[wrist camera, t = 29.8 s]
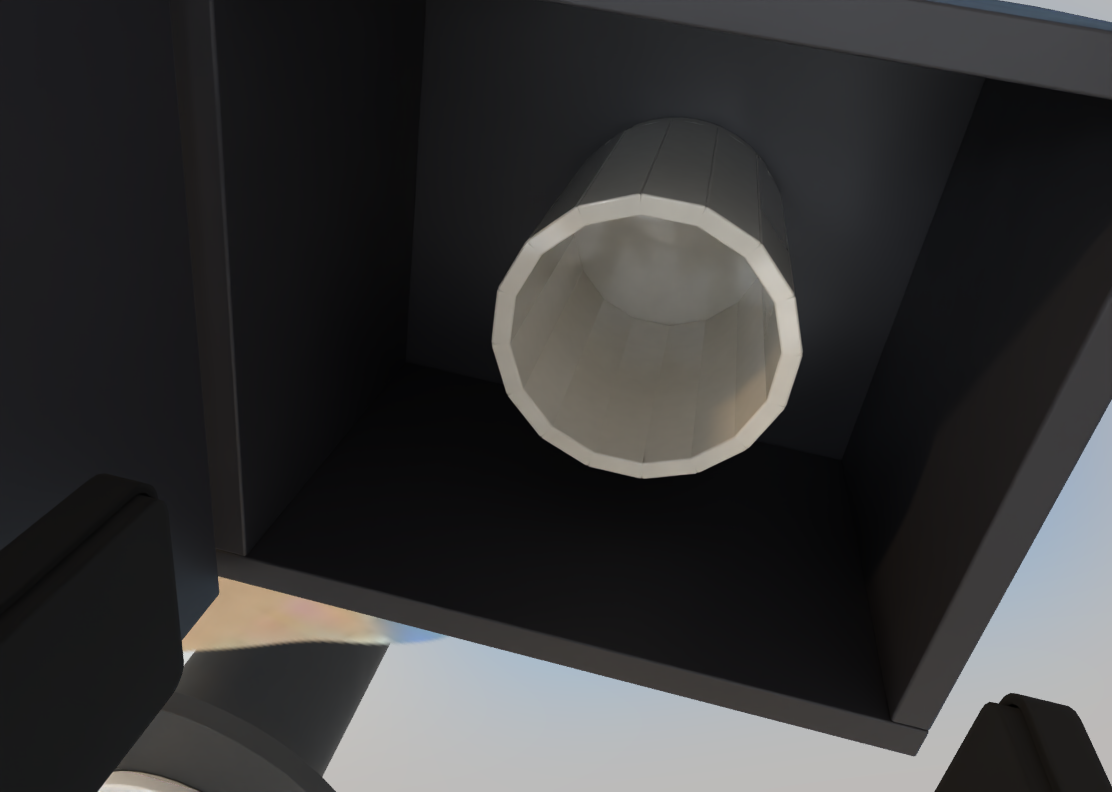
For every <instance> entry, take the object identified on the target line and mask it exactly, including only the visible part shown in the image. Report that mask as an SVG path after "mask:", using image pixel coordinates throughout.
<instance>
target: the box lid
mask: <svg viewBox="0 0 1112 792" xmlns="http://www.w3.org/2000/svg"><path fill="white" fill-rule="evenodd" d="M103 473H106V474H110V475H114V476H118V477H122V478H127V479H131V480H135V481H139V482H143V483H147V484H150V485H152V486H153V487H154V488H155V490H156V491H157V495H158V499H160V500H162V501H164V502H165V503H166V504H167V507H168V512H169V522H170V531H171V541H172V551H173V561H174V571H175V581H176V591H177V600H178V610H179V620H180V630H181V640H182V639H183V638H184V637H185V636H186V635H187V633H188V632H189V631H190V630H191V628H192V627H193V626H194V625H195V623H196V622H197V621H198V620H199V618H200V617H201V616H202V615H203V613H204V612H205V611H206V610H207V608H208V607H209V606H210V605H211V603H212V602H213V601H214V600H215V598H216V597H217V596H218V595H219V584H218V572H217V560H216V548H215V536H214V525H213V513H212V501H211V489H210V477H209V465H208V453H207V441H206V429H205V418H204V406H203V394H202V382H201V370H200V358H199V346H198V334H197V322H196V310H195V299H194V287H193V275H192V263H191V251H190V239H189V227H188V215H187V203H186V192H185V180H184V168H183V156H182V144H181V132H180V120H179V108H178V96H177V84H176V73H175V61H174V49H173V37H172V25H171V13H170V1H169V0H0V550H1V549H3V548H4V547H5V546H6V545H8V544H9V543H10V542H11V541H13V540H14V539H15V538H16V537H18V536H19V535H20V534H21V533H23V532H24V531H25V530H26V529H28V528H29V527H30V526H31V525H33V524H34V523H35V522H36V521H38V520H39V519H40V518H41V517H43V516H44V515H45V514H46V513H48V512H49V511H50V510H51V509H53V508H54V507H55V506H56V505H58V504H59V503H60V502H61V501H63V500H64V499H65V498H66V497H68V496H69V495H70V494H71V493H73V492H74V491H75V490H76V489H78V488H79V487H80V486H81V485H83V484H84V483H85V482H86V481H88V480H89V479H90V478H92V477H94V476H95V475H97V474H103Z"/></svg>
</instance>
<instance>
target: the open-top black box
mask: <svg viewBox="0 0 1112 792" xmlns="http://www.w3.org/2000/svg"><path fill="white" fill-rule="evenodd" d="M169 1H170V13H171V25H172V37H173V49H174V61H175V73H176V84H177V96H178V108H179V120H180V132H181V144H182V156H183V168H184V180H185V192H186V203H187V215H188V227H189V239H190V251H191V263H192V275H193V287H194V299H195V310H196V322H197V334H198V346H199V358H200V370H201V382H202V394H203V406H204V418H205V429H206V441H207V453H208V465H209V477H210V489H211V501H212V513H213V525H214V536H215V548H216V560H217V572H218V576H220V577H223V578H227V579H231V580H235V581H239V582H243V583H247V584H250V585H254V586H258V587H262V588H266V589H270V590H274V591H277V592H281V593H285V594H289V595H293V596H297V597H301V598H305V599H308V600H312V601H316V602H320V603H324V604H328V605H332V606H335V607H339V608H343V609H347V610H351V611H355V612H359V613H362V614H366V615H370V616H374V617H378V618H382V619H386V620H389V621H393V622H397V623H401V624H405V625H409V626H413V627H416V628H420V629H424V630H428V631H432V632H436V633H440V634H443V635H447V636H451V637H455V638H459V639H463V640H467V641H471V642H474V643H478V644H482V645H486V646H490V647H494V648H498V649H501V650H505V651H509V652H513V653H517V654H521V655H525V656H529V657H532V658H536V659H540V660H544V661H548V662H552V663H556V664H559V665H563V666H567V667H571V668H575V669H579V670H582V671H586V672H590V673H594V674H598V675H602V676H606V677H610V678H613V679H617V680H621V681H625V682H629V683H633V684H637V685H640V686H644V687H648V688H652V689H656V690H660V691H664V692H668V693H671V694H675V695H679V696H683V697H687V698H691V699H695V700H698V701H703V702H706V703H710V704H714V705H718V706H722V707H726V708H729V709H733V710H737V711H741V712H745V713H748V714H752V715H757V716H760V717H764V718H768V719H772V720H776V721H779V722H783V723H787V724H791V725H795V726H799V727H803V728H807V729H811V730H814V731H818V732H822V733H826V734H830V735H833V736H837V737H841V738H845V739H849V740H853V741H857V742H860V743H865V744H868V745H872V746H876V747H880V748H884V749H888V750H891V751H895V752H899V753H903V754H907V755H911V756H916V754H917V753H918V751H919V749H920V747H921V745H922V743H923V742H924V740H925V738H926V736H927V734H928V730H929V729H930V728H931V726H932V724H933V723H934V721H935V719H936V717H937V715H938V713H939V712H940V710H941V708H942V706H943V704H944V703H945V701H946V699H947V697H948V695H949V693H950V692H951V690H952V688H953V686H954V684H955V683H956V681H957V679H958V677H959V675H960V674H961V672H962V670H963V668H964V666H965V664H966V663H967V661H968V659H969V657H970V655H971V654H972V652H973V650H974V648H975V646H976V645H977V643H978V641H979V639H980V637H981V636H982V633H983V632H984V630H985V628H986V626H987V624H988V623H989V621H990V619H991V617H992V616H993V614H994V612H995V610H996V608H997V606H998V605H999V603H1000V601H1001V599H1002V597H1003V595H1004V593H1005V592H1006V590H1007V588H1008V587H1009V585H1010V583H1011V581H1012V579H1013V577H1014V576H1015V574H1016V572H1017V570H1018V568H1019V567H1020V565H1021V563H1022V561H1023V559H1024V558H1025V556H1026V554H1027V552H1028V550H1029V548H1030V546H1031V545H1032V543H1033V541H1034V539H1035V538H1036V536H1037V534H1038V532H1039V530H1040V528H1041V527H1042V525H1043V523H1044V521H1045V519H1046V518H1047V516H1048V514H1049V512H1050V510H1051V509H1052V507H1053V505H1054V503H1055V501H1056V499H1057V498H1058V496H1059V494H1060V492H1061V490H1062V489H1063V487H1064V485H1065V483H1066V481H1067V480H1068V478H1069V476H1070V474H1071V472H1072V470H1073V469H1074V467H1075V465H1076V463H1077V461H1078V460H1079V458H1080V456H1081V454H1082V452H1083V450H1084V448H1085V447H1086V445H1087V443H1088V441H1089V440H1090V438H1091V436H1092V434H1093V432H1094V430H1095V429H1096V427H1097V425H1098V423H1099V422H1100V420H1101V418H1102V416H1103V414H1104V412H1105V411H1106V408H1107V407H1108V405H1109V403H1110V402H1111V400H1112V22H1107V21H1103V20H1098V19H1093V18H1088V17H1084V16H1079V15H1074V14H1069V13H1065V12H1060V11H1055V10H1050V9H1045V8H1040V7H1035V6H1030V5H1024V4H1017V3H1011V2H1005V1H999V0H169ZM679 117H681V118H690V119H697V120H701V121H705V122H709V123H712V124H715V125H717V126H720V127H722V128H724V129H726V130H728V131H730V132H731V133H733V134H735V135H737V136H738V137H739V138H741V139H742V140H743V141H745V142H746V143H747V144H748V145H750V146H751V147H752V148H753V149H754V151H755V152H756V153H757V154H758V155H759V156H760V157H761V158H762V160H763V161H764V162H765V164H766V165H767V167H768V168H769V170H770V172H771V174H772V176H773V177H774V179H775V181H776V184H777V187H778V188H779V190H780V193H781V195H782V203H783V210H784V217H785V224H786V231H787V238H788V245H789V252H790V259H791V266H792V273H793V280H794V287H795V294H796V302H797V309H798V317H799V325H800V332H801V340H802V347H803V353H802V355H803V356H802V359H801V363H800V366H799V369H798V372H797V375H796V378H795V381H794V384H793V387H792V390H791V393H790V396H789V399H788V402H787V405H786V407H785V409H784V410H783V411H782V412H781V413H780V415H779V416H778V417H777V418H776V419H775V420H774V421H773V422H772V423H771V424H770V426H769V427H768V428H767V429H766V430H765V431H764V432H763V433H762V434H761V435H760V437H759V438H758V439H757V440H756V441H755V442H754V443H753V444H752V445H751V446H750V447H749V448H747V450H745V451H743V452H741V453H739V454H737V455H735V456H733V457H731V458H729V459H726V460H724V461H722V462H720V463H718V464H716V465H714V466H712V467H710V468H708V469H706V470H704V471H702V472H699V473H698V472H697V473H696V474H687V475H677V476H667V477H657V478H647V479H643V478H636V477H631V476H627V475H623V474H618V473H614V472H610V471H605V470H601V469H597V468H593V467H589V466H588V465H585V464H583V463H581V462H580V461H578V460H576V459H575V458H573V457H572V456H570V455H568V454H567V453H565V452H564V451H562V450H560V449H559V448H557V447H556V446H554V445H552V444H551V443H549V442H547V441H546V440H544V439H543V438H542V437H541V436H539V435H538V433H537V432H536V431H535V430H534V428H533V427H532V426H531V425H530V423H529V422H528V421H527V419H526V418H525V417H524V416H523V414H522V413H521V412H520V411H519V409H518V408H517V407H516V406H515V404H514V403H513V402H512V401H511V399H510V398H509V397H508V394H507V393H506V390H505V387H504V384H503V381H502V377H501V374H500V371H499V367H498V364H497V361H496V358H495V354H494V351H493V348H492V342H491V338H492V329H493V321H494V312H495V303H496V294H497V290H498V286H499V285H500V283H501V281H502V280H503V278H504V276H505V275H506V273H507V271H508V270H509V268H510V266H511V265H512V263H513V261H514V260H515V258H516V256H517V255H518V253H519V251H520V250H521V248H522V246H523V245H524V243H525V242H526V240H527V239H528V238H529V236H530V235H531V234H532V232H533V231H534V230H535V228H536V227H537V226H538V224H539V223H540V221H541V220H542V219H543V217H544V216H545V215H546V213H547V212H548V211H549V209H550V208H551V207H552V205H553V204H554V203H555V201H556V200H557V199H558V197H559V196H560V195H561V193H562V192H563V191H564V189H565V188H566V187H567V185H568V184H569V183H570V181H571V180H572V179H573V177H574V176H575V174H576V173H577V172H578V170H579V169H580V168H581V166H582V165H583V164H584V162H585V161H586V160H587V158H588V157H589V156H590V155H591V154H592V153H594V152H595V151H597V150H598V148H599V147H601V146H602V145H603V144H604V143H605V142H607V141H608V140H609V139H610V138H612V137H613V136H615V135H617V134H618V133H620V132H621V131H623V130H625V129H628V128H630V127H632V126H634V125H636V124H640V123H643V122H646V121H650V120H655V119H661V118H679Z"/></svg>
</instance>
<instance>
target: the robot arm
mask: <svg viewBox="0 0 1112 792" xmlns="http://www.w3.org/2000/svg"><path fill="white" fill-rule="evenodd" d="M183 666H184V659H183V650H182V640H181V630H180V620H179V610H178V600H177V591H176V581H175V571H174V561H173V551H172V541H171V531H170V522H169V512H168V507H167V504H166V503H165V502H164V501H162V500H160V499H158V495H157V491H156V490H155V488H154V487H153V486H152V485H150V484H147V483H143V482H139V481H135V480H131V479H127V478H122V477H118V476H114V475H110V474H106V473H103V474H97V475H95V476H94V477H92V478H90V479H89V480H88V481H86V482H85V483H84V484H83V485H81V486H80V487H79V488H78V489H76V490H75V491H74V492H73V493H71V494H70V495H69V496H68V497H66V498H65V499H64V500H63V501H61V502H60V503H59V504H58V505H56V506H55V507H54V508H53V509H51V510H50V511H49V512H48V513H46V514H45V515H44V516H43V517H41V518H40V519H39V520H38V521H36V522H35V523H34V524H33V525H31V526H30V527H29V528H28V529H26V530H25V531H24V532H23V533H21V534H20V535H19V536H18V537H16V538H15V539H14V540H13V541H11V542H10V543H9V544H8V545H6V546H5V547H4V548H3V549H1V550H0V792H200V791H198V790H196V789H194V788H192V787H189V786H187V785H185V784H183V783H180V782H178V781H174V780H171V779H168V778H165V777H162V776H159V775H154V774H148V773H143V772H134V771H116V772H113V771H114V770H115V769H116V767H117V766H118V765H119V763H120V762H121V761H122V759H123V758H124V757H125V756H126V754H127V753H128V752H129V750H130V749H131V748H132V746H133V745H134V744H135V742H136V741H137V740H138V739H139V737H140V736H141V735H142V733H143V732H144V731H145V729H146V728H147V727H148V726H149V724H150V723H151V722H152V720H153V719H154V718H155V716H156V715H157V714H158V713H159V711H160V710H161V709H162V707H163V706H164V705H165V703H166V702H167V701H168V699H169V698H170V697H171V696H172V694H173V693H174V691H175V689H176V688H177V685H178V683H179V681H180V678H181V676H182V672H183ZM935 792H1112V786H1111V784H1110V782H1109V780H1108V778H1107V775H1106V773H1105V771H1104V769H1103V767H1102V765H1101V762H1100V760H1099V758H1098V756H1097V754H1096V751H1095V749H1094V747H1093V745H1092V743H1091V741H1090V739H1089V736H1088V734H1087V732H1086V730H1085V728H1084V725H1083V723H1082V721H1081V719H1080V718H1079V716H1078V715H1077V713H1076V711H1074V710H1073V709H1072V708H1070V707H1069V706H1065V705H1061V704H1057V703H1053V702H1049V701H1045V700H1040V699H1036V698H1032V697H1028V696H1024V695H1020V694H1014V693H1010V694H1008V695H1006V696H1005V697H1003V699H1002V700H1001V701H1000V703H999V704H998V703H993V702H989V703H987V704H985V705H984V707H983V708H982V709H981V711H980V713H979V715H978V717H977V718H976V720H975V721H974V723H973V725H972V727H971V728H970V730H969V732H968V734H967V736H966V737H965V739H964V741H963V743H962V744H961V746H960V748H959V750H958V751H957V753H956V755H955V757H954V759H953V760H952V762H951V764H950V766H949V767H948V769H947V771H946V773H945V774H944V776H943V778H942V780H941V781H940V783H939V785H938V787H937V788H936V790H935Z"/></svg>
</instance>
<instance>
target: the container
mask: <svg viewBox="0 0 1112 792" xmlns="http://www.w3.org/2000/svg"><path fill="white" fill-rule="evenodd" d="M491 342H492V348H493V351H494V354H495V358H496V361H497V364H498V367H499V371H500V374H501V377H502V381H503V384H504V387H505V390H506V393H507V394H508V397H509V398H510V399H511V401H512V402H513V403H514V404H515V406H516V407H517V408H518V409H519V411H520V412H521V413H522V414H523V416H524V417H525V418H526V419H527V421H528V422H529V423H530V425H531V426H532V427H533V428H534V430H535V431H536V432H537V433H538V435H539V436H541V437H542V438H543V439H544V440H546V441H547V442H549V443H551V444H552V445H554V446H556V447H557V448H559V449H560V450H562V451H564V452H565V453H567V454H568V455H570V456H572V457H573V458H575V459H576V460H578V461H580V462H581V463H583V464H585V465H588V466H589V467H593V468H597V469H601V470H605V471H610V472H614V473H618V474H623V475H627V476H631V477H636V478H643V479H647V478H657V477H667V476H677V475H687V474H696V473H697V472H698V473H699V472H702V471H704V470H706V469H708V468H710V467H712V466H714V465H716V464H718V463H720V462H722V461H724V460H726V459H729V458H731V457H733V456H735V455H737V454H739V453H741V452H743V451H745V450H747V448H749V447H750V446H751V445H752V444H753V443H754V442H755V441H756V440H757V439H758V438H759V437H760V435H761V434H762V433H763V432H764V431H765V430H766V429H767V428H768V427H769V426H770V424H771V423H772V422H773V421H774V420H775V419H776V418H777V417H778V416H779V415H780V413H781V412H782V411H783V410H784V409H785V407H786V405H787V402H788V399H789V396H790V393H791V390H792V387H793V384H794V381H795V378H796V375H797V372H798V369H799V366H800V363H801V359H802V356H803V355H802V353H803V347H802V340H801V332H800V325H799V317H798V309H797V302H796V294H795V287H794V280H793V273H792V266H791V259H790V252H789V245H788V238H787V231H786V224H785V217H784V210H783V203H782V195H781V193H780V190H779V188H778V187H777V184H776V181H775V179H774V177H773V176H772V174H771V172H770V170H769V168H768V167H767V165H766V164H765V162H764V161H763V160H762V158H761V157H760V156H759V155H758V154H757V153H756V152H755V151H754V149H753V148H752V147H751V146H750V145H748V144H747V143H746V142H745V141H743V140H742V139H741V138H739V137H738V136H737V135H735V134H733V133H731V132H730V131H728V130H726V129H724V128H722V127H720V126H717V125H715V124H712V123H709V122H705V121H701V120H697V119H690V118H681V117H679V118H661V119H655V120H650V121H646V122H643V123H640V124H636V125H634V126H632V127H630V128H628V129H625V130H623V131H621V132H620V133H618V134H617V135H615V136H613V137H612V138H610V139H609V140H608V141H607V142H605V143H604V144H603V145H602V146H601V147H599V148H598V150H597V151H595V152H594V153H592V154H591V155H590V156H589V157H588V158H587V160H586V161H585V162H584V164H583V165H582V166H581V168H580V169H579V170H578V172H577V173H576V174H575V176H574V177H573V179H572V180H571V181H570V183H569V184H568V185H567V187H566V188H565V189H564V191H563V192H562V193H561V195H560V196H559V197H558V199H557V200H556V201H555V203H554V204H553V205H552V207H551V208H550V209H549V211H548V212H547V213H546V215H545V216H544V217H543V219H542V220H541V221H540V223H539V224H538V226H537V227H536V228H535V230H534V231H533V232H532V234H531V235H530V236H529V238H528V239H527V240H526V242H525V243H524V245H523V246H522V248H521V250H520V251H519V253H518V255H517V256H516V258H515V260H514V261H513V263H512V265H511V266H510V268H509V270H508V271H507V273H506V275H505V276H504V278H503V280H502V281H501V283H500V285H499V286H498V290H497V294H496V303H495V312H494V321H493V329H492V338H491Z"/></svg>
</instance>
